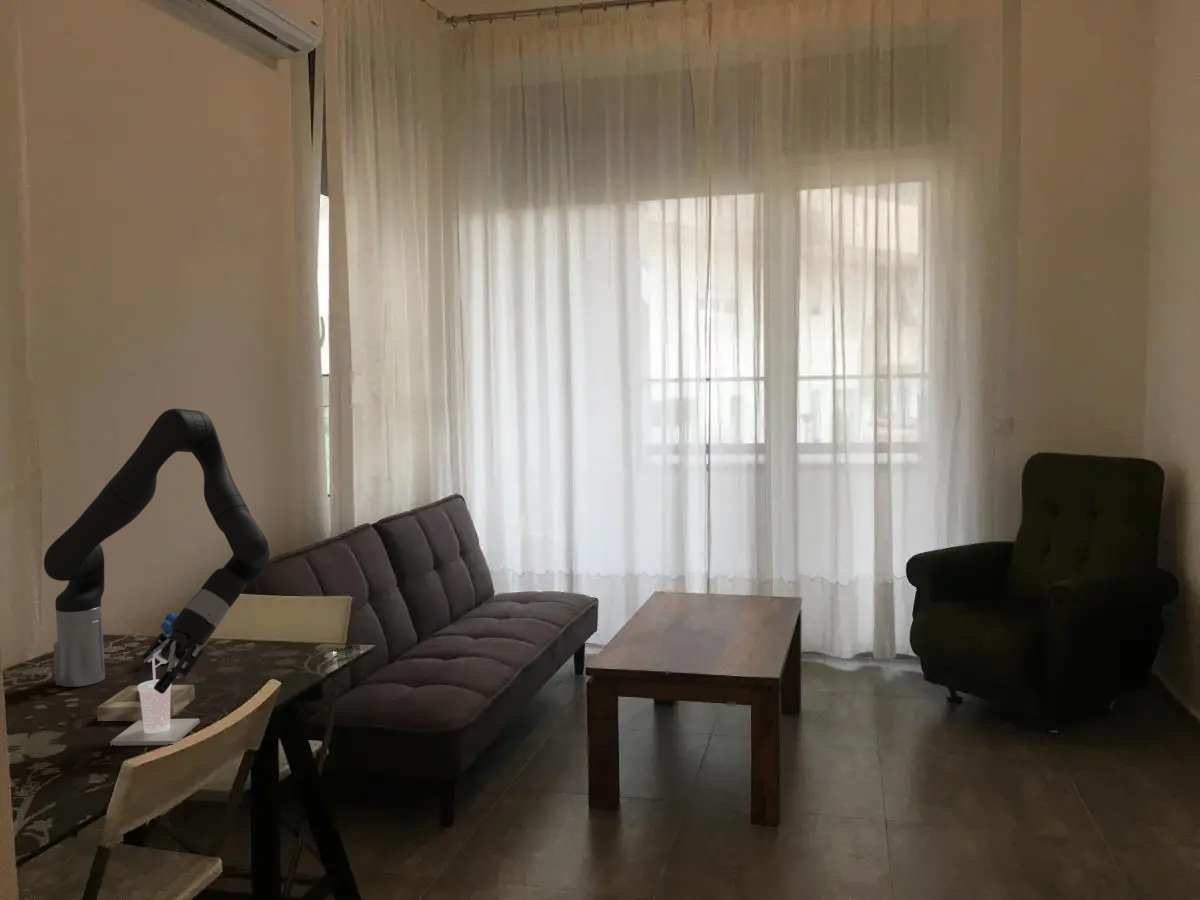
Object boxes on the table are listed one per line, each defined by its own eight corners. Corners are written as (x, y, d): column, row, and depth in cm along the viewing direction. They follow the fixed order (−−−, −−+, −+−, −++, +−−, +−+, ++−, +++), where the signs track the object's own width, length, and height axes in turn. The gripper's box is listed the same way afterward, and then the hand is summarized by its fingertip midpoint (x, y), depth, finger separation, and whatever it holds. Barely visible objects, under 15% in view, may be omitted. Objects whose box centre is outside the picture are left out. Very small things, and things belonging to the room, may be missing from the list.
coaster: (110, 745, 187) (110, 741, 187) (139, 723, 199) (139, 719, 199) (174, 744, 187) (173, 740, 187) (199, 722, 199) (199, 718, 199)
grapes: (182, 666, 238) (180, 617, 237) (154, 666, 238) (152, 617, 237) (202, 652, 249) (200, 605, 249) (176, 652, 250) (174, 605, 249)
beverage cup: (132, 732, 191) (128, 661, 190) (156, 722, 197) (153, 653, 196) (157, 736, 189) (153, 664, 188) (181, 725, 195) (177, 655, 194)
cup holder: (97, 721, 200) (96, 707, 200) (130, 699, 214) (129, 685, 214) (166, 721, 200) (166, 706, 200) (194, 698, 214) (194, 684, 214)
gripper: (170, 601, 201) (115, 670, 193) (206, 611, 192) (150, 684, 184) (196, 622, 206) (144, 689, 198) (232, 632, 197) (179, 704, 189)
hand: (147, 687), depth 191 cm, fingers open, 8 cm apart
